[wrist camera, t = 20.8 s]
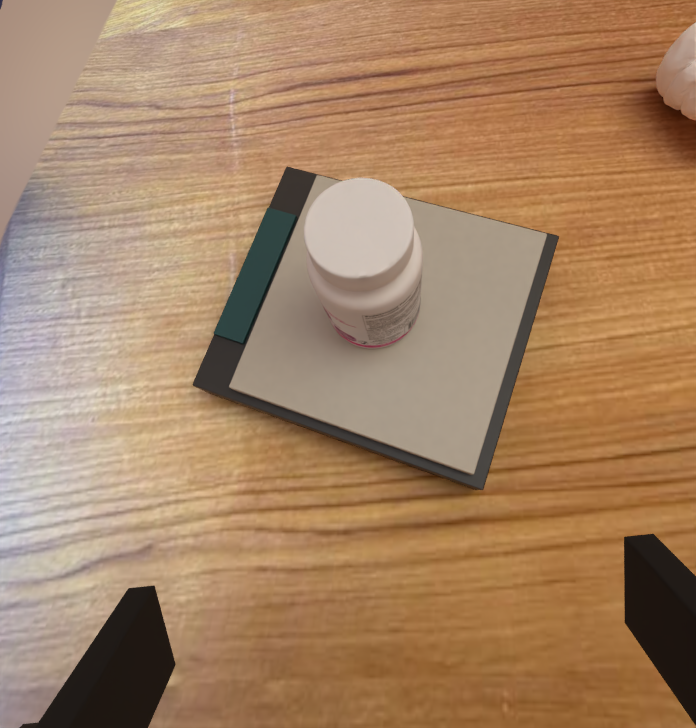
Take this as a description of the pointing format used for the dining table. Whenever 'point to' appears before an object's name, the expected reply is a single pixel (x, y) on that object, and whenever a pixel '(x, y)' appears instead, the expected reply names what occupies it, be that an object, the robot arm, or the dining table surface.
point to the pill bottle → (365, 261)
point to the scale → (394, 362)
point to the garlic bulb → (680, 74)
